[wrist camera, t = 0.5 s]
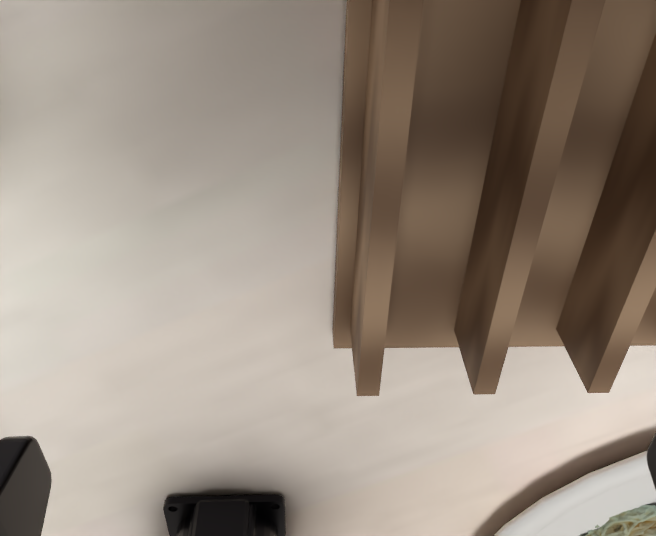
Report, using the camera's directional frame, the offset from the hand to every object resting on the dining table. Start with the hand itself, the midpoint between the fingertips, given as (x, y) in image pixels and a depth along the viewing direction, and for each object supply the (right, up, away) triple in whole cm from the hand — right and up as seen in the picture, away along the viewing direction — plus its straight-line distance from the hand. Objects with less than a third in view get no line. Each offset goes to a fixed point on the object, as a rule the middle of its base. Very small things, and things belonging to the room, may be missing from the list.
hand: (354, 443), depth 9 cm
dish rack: (+8, +7, +13) cm, 16 cm away
